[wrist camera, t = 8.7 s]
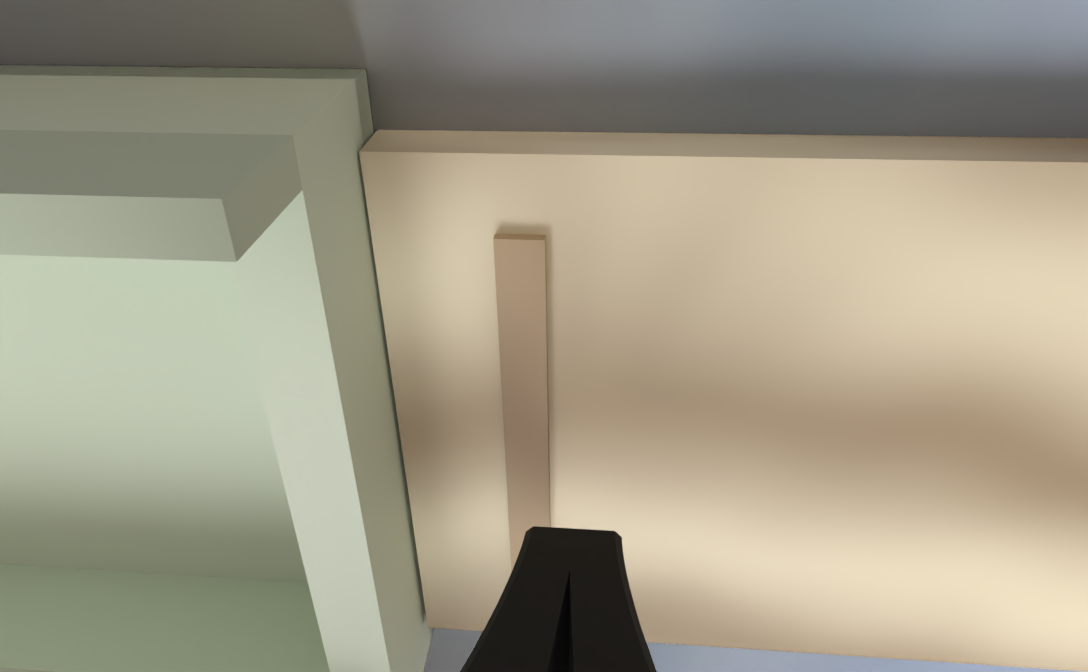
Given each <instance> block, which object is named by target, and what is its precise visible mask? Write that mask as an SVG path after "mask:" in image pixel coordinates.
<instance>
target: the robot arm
mask: <svg viewBox="0 0 1088 672" xmlns="http://www.w3.org/2000/svg"><path fill="white" fill-rule="evenodd" d="M460 672H656V669H655V666H654V663H653V660H652V658H651V655H650V652H649V649H648V646H647V643H646V640H645V637H644V634H643V631H642V629H641V625H640V622H639V619H638V615H637V612H636V609H635V605H634V601H633V597H632V594H631V590H630V586H629V582H628V577H627V573H626V568H625V562H624V556H623V548H622V537H621V536H620V535H619V534H618V533H617V532H615V531H608V530H591V529H573V528H555V527H538V526H533V527H532V528H530V529H529V530H527V531H526V533H525V536H524V540H523V543H522V546H521V549H520V552H519V555H518V557H517V560H516V563H515V565H514V568H513V570H512V572H511V575H510V577H509V579H508V582H507V584H506V586H505V588H504V590H503V593H502V595H501V597H500V599H499V601H498V603H497V605H496V607H495V609H494V611H493V613H492V615H491V617H490V619H489V621H488V623H487V625H486V627H485V629H484V630H483V632H482V634H481V636H480V638H479V640H478V642H477V644H476V646H475V648H474V649H473V651H472V653H471V655H470V656H469V658H468V660H467V661H466V663H465V665H464V666H463V668H462V670H461V671H460Z"/></svg>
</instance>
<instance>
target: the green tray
mask: <svg viewBox="0 0 1088 672" xmlns="http://www.w3.org/2000/svg"><path fill="white" fill-rule="evenodd" d="M373 135H374V130H373V122H372V114H371V107H370V99H369V91H368V83H367V75H366V69H309V68H218V67H127V66H36V65H0V672H423V671H424V667H425V663H426V659H427V655H428V651H429V647H430V642H431V638H432V634H433V630H434V628H428V625H427V618H426V611H425V604H424V597H423V590H422V583H421V576H420V570H419V563H418V556H417V549H416V542H415V535H414V528H413V521H412V514H411V507H410V500H409V493H408V486H407V480H406V473H405V466H404V459H403V452H402V445H401V438H400V431H399V424H398V417H397V410H396V403H395V396H394V390H393V383H392V376H391V369H390V362H389V355H388V348H387V341H386V334H385V327H384V320H383V313H382V306H381V300H380V293H379V286H378V279H377V272H376V265H375V258H374V251H373V244H372V237H371V230H370V223H369V216H368V210H367V203H366V196H365V189H364V182H363V175H362V168H361V161H360V154H359V151H360V150H361V149H362V148H363V146H364V145H365V144H366V143H367V142H368V140H369V139H370V138H371V137H372V136H373Z"/></svg>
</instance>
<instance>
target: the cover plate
mask: <svg viewBox="0 0 1088 672" xmlns="http://www.w3.org/2000/svg"><path fill="white" fill-rule="evenodd" d="M359 154H360V161H361V168H362V175H363V182H364V189H365V196H366V203H367V210H368V216H369V223H370V230H371V237H372V244H373V251H374V258H375V265H376V272H377V279H378V286H379V293H380V300H381V306H382V313H383V320H384V327H385V334H386V341H387V348H388V355H389V362H390V369H391V376H392V383H393V390H394V396H395V403H396V410H397V417H398V424H399V431H400V438H401V445H402V452H403V459H404V466H405V473H406V480H407V486H408V493H409V500H410V507H411V514H412V521H413V528H414V535H415V542H416V549H417V556H418V563H419V570H420V576H421V583H422V590H423V597H424V604H425V611H426V618H427V625H428V628H443V629H458V630H473V631H483V630H484V629H485V627H486V625H487V623H488V621H489V619H490V617H491V615H492V613H493V611H494V609H495V607H496V605H497V603H498V601H499V599H500V597H501V595H502V593H503V590H504V588H505V586H506V584H507V582H508V579H509V577H510V575H511V572H512V570H513V568H514V565H515V563H516V560H517V557H518V555H519V552H520V549H521V546H522V543H523V540H524V536H525V533H526V531H527V530H529V529H530V528H532V527H533V526H538V527H555V528H573V529H591V530H608V531H615V532H617V533H618V534H619V535H620V536H621V537H622V548H623V556H624V562H625V568H626V573H627V577H628V582H629V586H630V590H631V594H632V597H633V601H634V605H635V609H636V612H637V615H638V619H639V622H640V625H641V629H642V631H643V634H644V637H645V640H646V642H652V643H667V644H682V645H697V646H712V647H727V648H742V649H757V650H772V651H787V652H802V653H817V654H832V655H847V656H862V657H877V658H892V659H907V660H922V661H937V662H952V663H967V664H982V665H997V666H1012V667H1027V668H1042V669H1057V670H1072V671H1087V672H1088V138H1040V137H955V136H870V135H784V134H699V133H614V132H528V131H443V130H377V131H376V132H375V133H374V135H373V136H372V137H371V138H370V139H369V140H368V142H367V143H366V144H365V145H364V146H363V148H362V149H361V150H360V151H359Z"/></svg>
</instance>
